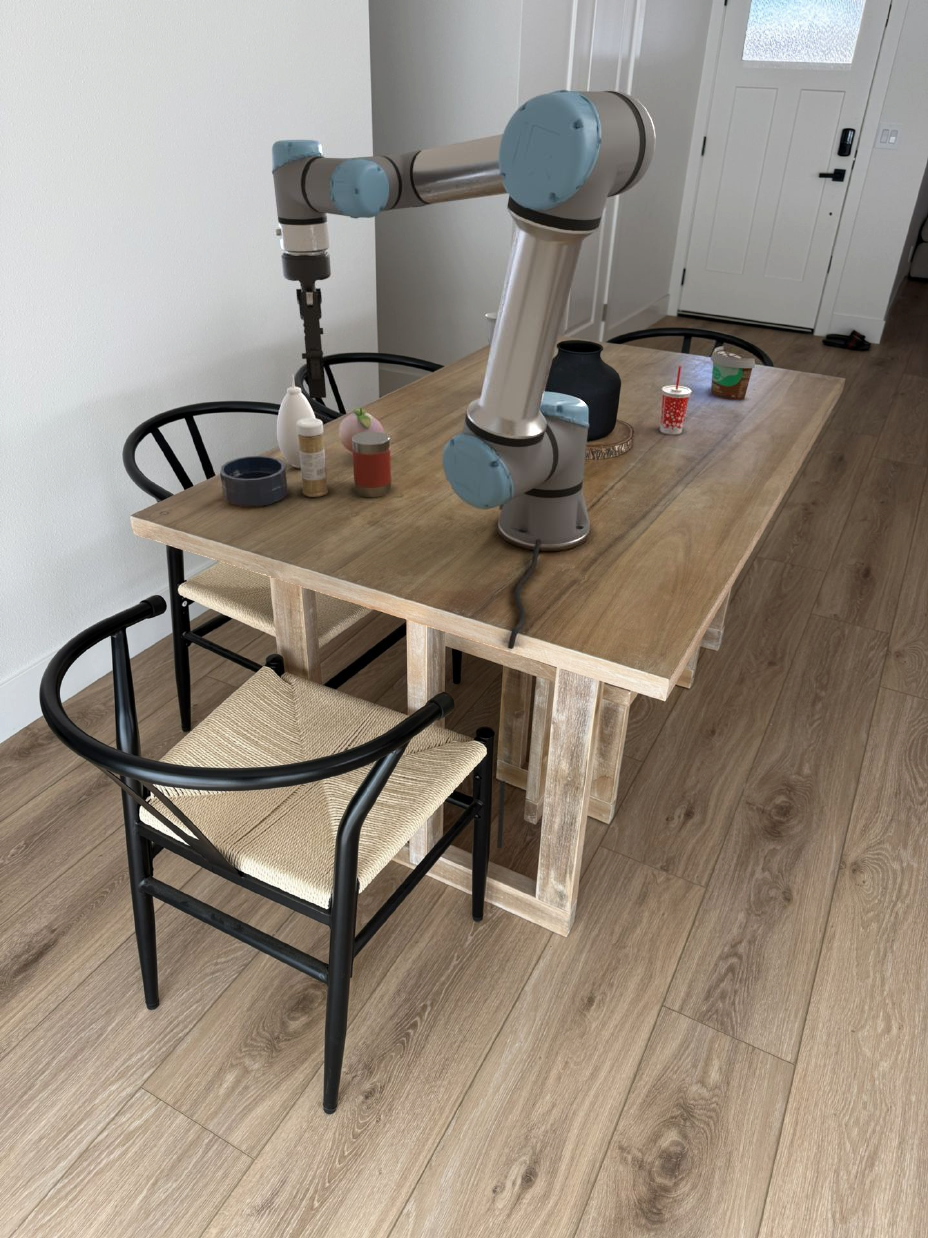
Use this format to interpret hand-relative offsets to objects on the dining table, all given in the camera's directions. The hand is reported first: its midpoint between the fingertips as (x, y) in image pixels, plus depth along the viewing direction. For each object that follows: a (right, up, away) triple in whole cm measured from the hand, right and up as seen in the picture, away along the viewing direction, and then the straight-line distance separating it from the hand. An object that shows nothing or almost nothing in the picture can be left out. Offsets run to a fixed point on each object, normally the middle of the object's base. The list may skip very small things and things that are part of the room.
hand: (316, 385), depth 150 cm
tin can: (+8, -16, +12) cm, 22 cm away
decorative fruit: (+5, -8, +25) cm, 27 cm away
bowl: (-12, -18, +9) cm, 23 cm away
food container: (+87, +14, +62) cm, 108 cm away
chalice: (+33, +13, +61) cm, 71 cm away
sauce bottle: (-7, -10, +21) cm, 24 cm away
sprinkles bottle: (-2, -17, +11) cm, 20 cm away
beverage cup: (+70, +1, +41) cm, 81 cm away
